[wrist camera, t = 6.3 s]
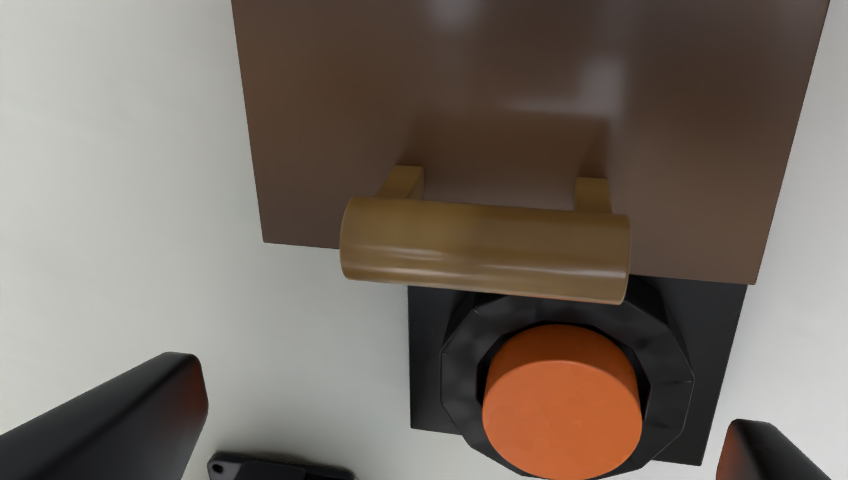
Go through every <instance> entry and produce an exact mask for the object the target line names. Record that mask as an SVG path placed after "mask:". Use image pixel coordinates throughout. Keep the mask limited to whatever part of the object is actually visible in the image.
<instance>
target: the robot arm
mask: <svg viewBox="0 0 848 480" xmlns="http://www.w3.org/2000/svg"><path fill="white" fill-rule="evenodd" d="M207 414H208V397H207V392H206V387H205V382H204V377H203V372H202V367H201V363H200V361H199V359H198V358H197V357H196V356H195V355H193V354H187V353H179V352H165V353H162V354H160V355H158V356H156V357H154V358H152V359H150V360H148V361H147V362H145V363H143V364H141V365H139V366H137V367H135V368H133V369H131V370H129V371H127V372H125V373H123V374H121V375H119V376H117V377H115V378H113V379H111V380H109V381H107V382H105V383H103V384H101V385H99V386H97V387H95V388H93V389H91V390H89V391H87V392H85V393H83V394H81V395H79V396H77V397H75V398H73V399H72V400H70V401H68V402H66V403H64V404H62V405H60V406H58V407H56V408H54V409H52V410H50V411H48V412H46V413H44V414H42V415H40V416H38V417H36V418H34V419H32V420H30V421H28V422H26V423H24V424H22V425H20V426H18V427H16V428H14V429H12V430H10V431H8V432H6V433H4V434H2V435H0V480H181V477H182V475H183V473H184V470H185V468H186V466H187V463H188V461H189V459H190V456H191V454H192V452H193V449H194V447H195V445H196V442H197V440H198V438H199V435H200V433H201V431H202V428H203V426H204V424H205V421H206V418H207ZM207 469H208V474H209V478H210V480H354V477H353V476H352V475H351V474H350V473H348V472H345V471H341V470H334V469H327V468H320V467H313V466H306V465H299V464H292V463H285V462H279V461H272V460H265V459H258V458H251V457H244V456H237V455H230V454H223V453H216V454H213V456H212V457H211V458H210V460H209V462H208V463H207ZM716 480H831V479H830V478H829V477H828V476H827V475H826V474H825V473H824V472H823V471H822V470H821V469H820V468H818V467H817V466H816V465H815V464H814V463H813V462H812V461H811V460H810V459H809V458H808V457H807V456H806V455H805V454H804V453H803V452H801V451H800V450H799V449H798V448H797V447H796V446H795V445H794V444H793V443H792V442H791V441H790V440H789V439H788V438H787V437H786V436H785V435H783V434H782V433H781V432H780V431H779V430H778V429H777V428H776V427H775V426H773V425H772V424H770V423H767V422H762V421H753V420H745V419H736V420H734V421H732V422H731V424H730V425H729V427H728V430H727V434H726V437H725V441H724V445H723V448H722V452H721V456H720V459H719V463H718V467H717V472H716Z"/></svg>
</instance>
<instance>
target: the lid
mask: <svg viewBox="0 0 848 480" xmlns="http://www.w3.org/2000/svg"><path fill="white" fill-rule="evenodd" d="M829 3H830V0H231V4H232V11H233V19H234V26H235V34H236V41H237V49H238V56H239V64H240V71H241V79H242V86H243V94H244V101H245V109H246V116H247V124H248V131H249V139H250V146H251V154H252V161H253V169H254V176H255V184H256V191H257V199H258V206H259V213H260V221H261V228H262V236H263V242H264V243H274V244H286V245H297V246H309V247H320V248H332V249H340V262H341V268H342V271H343V274H344V276H345V277H346V278H347V279H349V280H357V281H368V282H379V283H389V284H400V285H410V286H421V287H432V288H442V289H453V290H463V291H474V292H485V293H495V294H506V295H516V296H527V297H538V298H548V299H559V300H570V301H580V302H591V303H601V304H612V305H620V304H621V303H622V302H623V300H624V297H625V293H626V289H627V284H628V277H629V274H632V275H644V276H655V277H667V278H679V279H690V280H702V281H713V282H725V283H736V284H748V285H755V284H756V280H757V276H758V273H759V269H760V265H761V261H762V257H763V254H764V250H765V246H766V242H767V238H768V235H769V231H770V227H771V223H772V219H773V216H774V212H775V208H776V204H777V200H778V197H779V193H780V189H781V185H782V182H783V178H784V174H785V170H786V166H787V163H788V159H789V155H790V151H791V147H792V144H793V140H794V136H795V132H796V128H797V125H798V121H799V117H800V113H801V109H802V106H803V102H804V98H805V94H806V90H807V87H808V83H809V79H810V75H811V71H812V68H813V64H814V60H815V56H816V52H817V49H818V45H819V41H820V37H821V33H822V30H823V26H824V22H825V18H826V14H827V11H828V7H829Z"/></svg>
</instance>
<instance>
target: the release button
mask: <svg viewBox="0 0 848 480" xmlns="http://www.w3.org/2000/svg"><path fill="white" fill-rule="evenodd" d="M482 422H483V427H484V430H485V433H486V435H487V437H488V439H489V441H490V443H491V444H492V446H493V447H494V448H495V450H496V451H497V452H498V453H499V454H500V455H501V456H502V457H503V458H504V459H506V460H507V461H508V462H509V463H511V464H512V465H514V466H516V467H517V468H519V469H521V470H523V471H525V472H528V473H530V474H533V475H536V476H539V477H543V478H547V479H553V480H584V479H589V478H593V477H596V476H600V475H602V474H605V473H607V472H609V471H611V470H613V469H615V468H616V467H618V466H619V465H621V464H622V463H623V462H624V461H625V460H626V459H627V458H628V457H629V456H630V455H631V454H632V452H633V451H634V450H635V448H636V446H637V444H638V442H639V440H640V436H641V433H642V414H641V407H640V400H639V394H638V387H637V380H636V375H635V371H634V369H633V366H632V364H631V362H630V361H629V359H628V357H627V356H626V355H625V354H624V352H623V351H622V350H621V349H620V348H619V347H618V346H617V345H616V344H615V343H613V342H612V341H611V340H609V339H608V338H606V337H605V336H603V335H601V334H599V333H597V332H595V331H592V330H590V329H587V328H583V327H579V326H574V325H568V324H548V325H542V326H536V327H533V328H530V329H527V330H524V331H522V332H520V333H518V334H516V335H515V336H513V337H511V338H510V339H509V340H507V341H506V342H505V343H504V344H503V345H502V346H501V347H500V348H499V349H498V351H497V352H496V353H495V355H494V357H493V359H492V361H491V363H490V366H489V369H488V376H487V382H486V388H485V394H484V400H483V407H482Z"/></svg>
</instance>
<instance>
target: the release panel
mask: <svg viewBox="0 0 848 480" xmlns="http://www.w3.org/2000/svg"><path fill="white" fill-rule="evenodd" d="M747 286H748V284H736V283H725V282H713V281H702V280H690V279H679V278H667V277H655V276H644V275H632V274H629V277H628V284H627V289H626V293H625V297H624V300H623V302H622V303H621V304H620V305H612V304H601V303H591V302H580V301H570V300H559V299H548V298H538V297H527V296H516V295H506V294H495V293H485V292H474V291H463V290H453V289H442V288H432V287H421V286H410V285H408V330H409V379H410V426H411V428H412V429H419V430H426V431H434V432H442V433H449V434H457V435H462V436H463V437H464V439H465V440H466V442H467V443H468V445H470V447H471V448H473V449H475V450H477V451H478V452H480V453H482V454H484V455H485V456H487V457H489V458H491V459H492V460H494V461H496V462H498V463H499V464H501V465H503V466H505V467H506V468H508V469H510V470H512V471H513V472H515V473H517V474H519V475H521V476H527V477H534V478H541V479H547V478H543V477H539V476H536V475H533V474H530V473H528V472H525V471H523V470H521V469H519V468H517V467H516V466H514V465H512V464H511V463H509V462H508V461H507V460H506V459H504V458H503V457H502V456H501V455H500V454H499V453H498V452H497V451H496V450H495V448H494V447H493V446H492V444H491V443H490V441H489V439H488V437H487V435H486V433H485V430H484V427H483V422H482V407H483V400H484V394H485V388H486V382H487V376H488V369H489V366H490V363H491V361H492V359H493V357H494V355H495V353H496V352H497V351H498V349H499V348H500V347H501V346H502V345H503V344H504V343H505V342H506V341H507V340H509V339H510V338H511V337H513V336H515V335H516V334H518V333H520V332H522V331H524V330H527V329H530V328H533V327H536V326H542V325H548V324H568V325H574V326H579V327H583V328H587V329H590V330H592V331H595V332H597V333H599V334H601V335H603V336H605V337H606V338H608V339H609V340H611V341H612V342H613V343H615V344H616V345H617V346H618V347H619V348H620V349H621V350H622V351H623V352H624V354H625V355H626V356H627V357H628V359H629V361H630V362H631V364H632V366H633V369H634V371H635V375H636V380H637V387H638V394H639V400H640V407H641V414H642V433H641V436H640V440H639V442H638V444H637V446H636V448H635V450H634V451H633V452H632V454H631V455H630V456H629V457H628V458H627V459H626V460H625V461H624V462H623V463H622V464H621V465H619V466H618V467H616V468H615V469H613V470H611V471H609V472H607V473H605V474H602V475H600V476H596V477H593V478H589V479H584V480H599V479H603V478H607V477H611V476H614V475H618V474H622V473H626V472H630V471H634V470H638V469H639V468H642V467H643V466H645V465H646V464H647V463H648V462H649V461H650V460H655V461H663V462H671V463H678V464H686V465H693V466H701V464H702V461H703V457H704V453H705V449H706V445H707V441H708V437H709V433H710V430H711V426H712V422H713V418H714V414H715V410H716V406H717V402H718V398H719V395H720V391H721V387H722V383H723V379H724V375H725V371H726V367H727V363H728V360H729V356H730V352H731V348H732V344H733V340H734V336H735V332H736V328H737V325H738V321H739V317H740V313H741V309H742V305H743V301H744V297H745V293H746V290H747ZM548 480H553V479H548Z"/></svg>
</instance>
